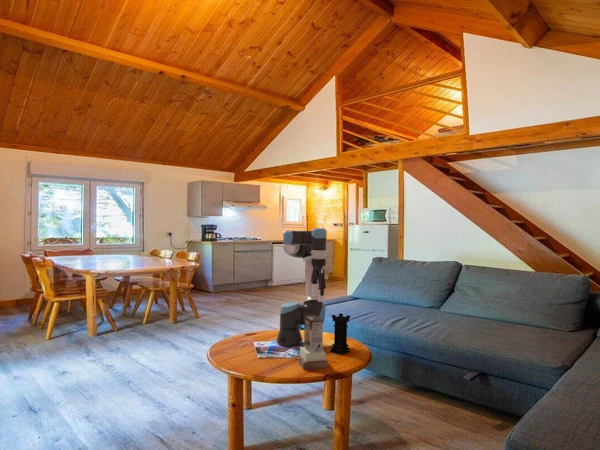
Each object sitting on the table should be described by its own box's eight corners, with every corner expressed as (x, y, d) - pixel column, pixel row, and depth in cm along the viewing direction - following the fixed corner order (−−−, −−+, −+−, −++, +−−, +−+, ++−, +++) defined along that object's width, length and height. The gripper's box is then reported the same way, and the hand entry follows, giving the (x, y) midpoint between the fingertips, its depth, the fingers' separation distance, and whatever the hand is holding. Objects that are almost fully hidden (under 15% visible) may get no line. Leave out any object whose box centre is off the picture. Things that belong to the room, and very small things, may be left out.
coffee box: (303, 347, 206) (303, 315, 205) (315, 345, 208) (315, 314, 207) (310, 353, 198) (311, 321, 196) (323, 351, 200) (323, 319, 199)
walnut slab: (297, 362, 208) (297, 354, 208) (320, 361, 211) (320, 353, 211) (303, 371, 196) (303, 362, 196) (327, 369, 199) (327, 361, 199)
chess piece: (340, 355, 219) (340, 317, 219) (329, 351, 225) (330, 315, 225) (350, 352, 224) (351, 315, 224) (340, 348, 230) (340, 313, 230)
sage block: (299, 354, 207) (300, 347, 207) (318, 353, 210) (318, 345, 210) (305, 361, 198) (305, 353, 198) (325, 360, 201) (325, 352, 201)
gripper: (305, 255, 223) (305, 294, 224) (317, 261, 198) (317, 304, 199) (319, 255, 224) (318, 293, 225) (332, 261, 200) (331, 304, 201)
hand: (317, 298), depth 212 cm, fingers open, 13 cm apart
